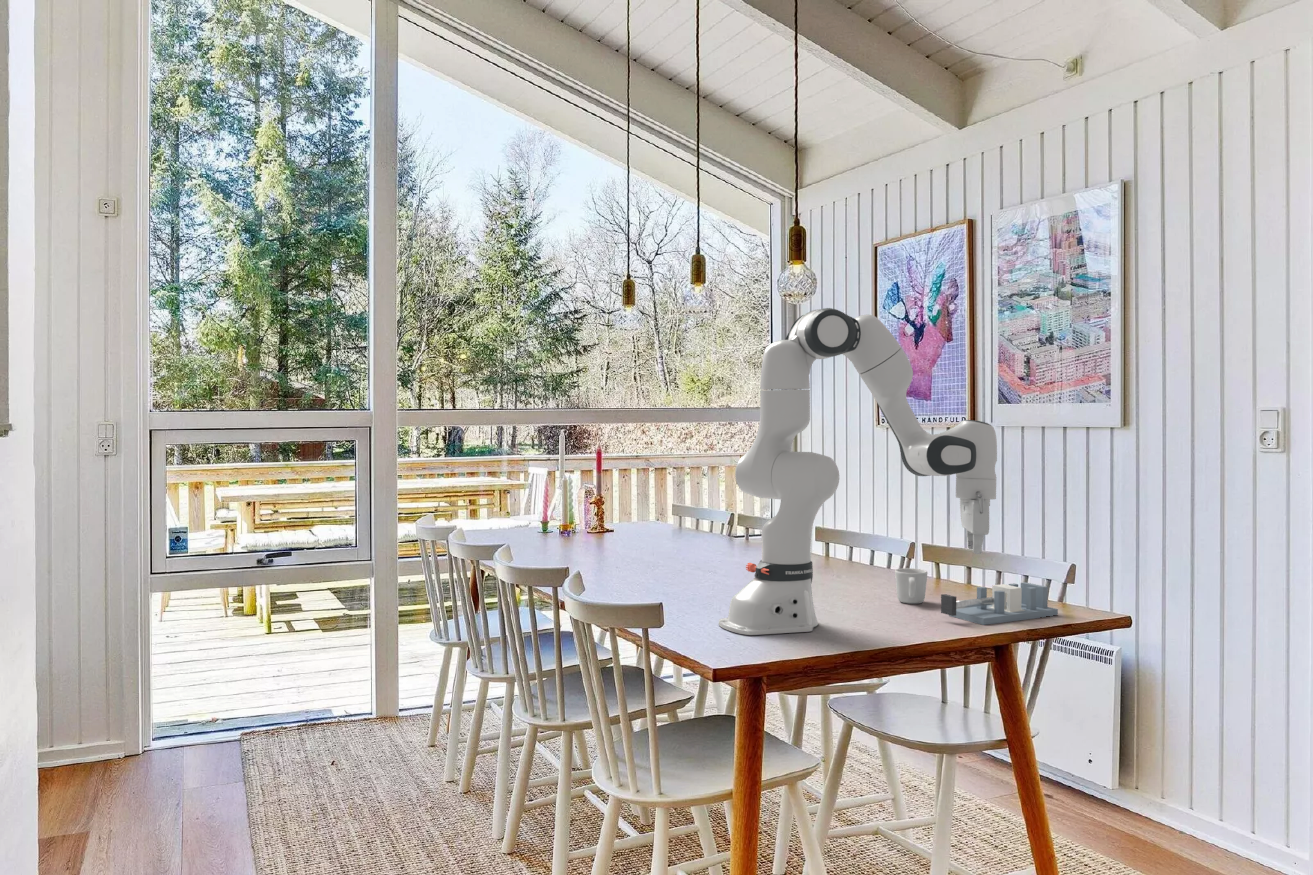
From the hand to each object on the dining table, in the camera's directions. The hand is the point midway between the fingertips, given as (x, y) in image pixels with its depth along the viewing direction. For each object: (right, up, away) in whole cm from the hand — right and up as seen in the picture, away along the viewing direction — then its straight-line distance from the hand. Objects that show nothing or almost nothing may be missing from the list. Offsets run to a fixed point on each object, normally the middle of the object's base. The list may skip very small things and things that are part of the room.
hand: (974, 551), depth 218 cm
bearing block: (+9, -16, +5) cm, 18 cm away
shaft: (-1, -14, 0) cm, 14 cm away
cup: (-9, -16, +19) cm, 26 cm away
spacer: (+9, -14, +5) cm, 17 cm away
